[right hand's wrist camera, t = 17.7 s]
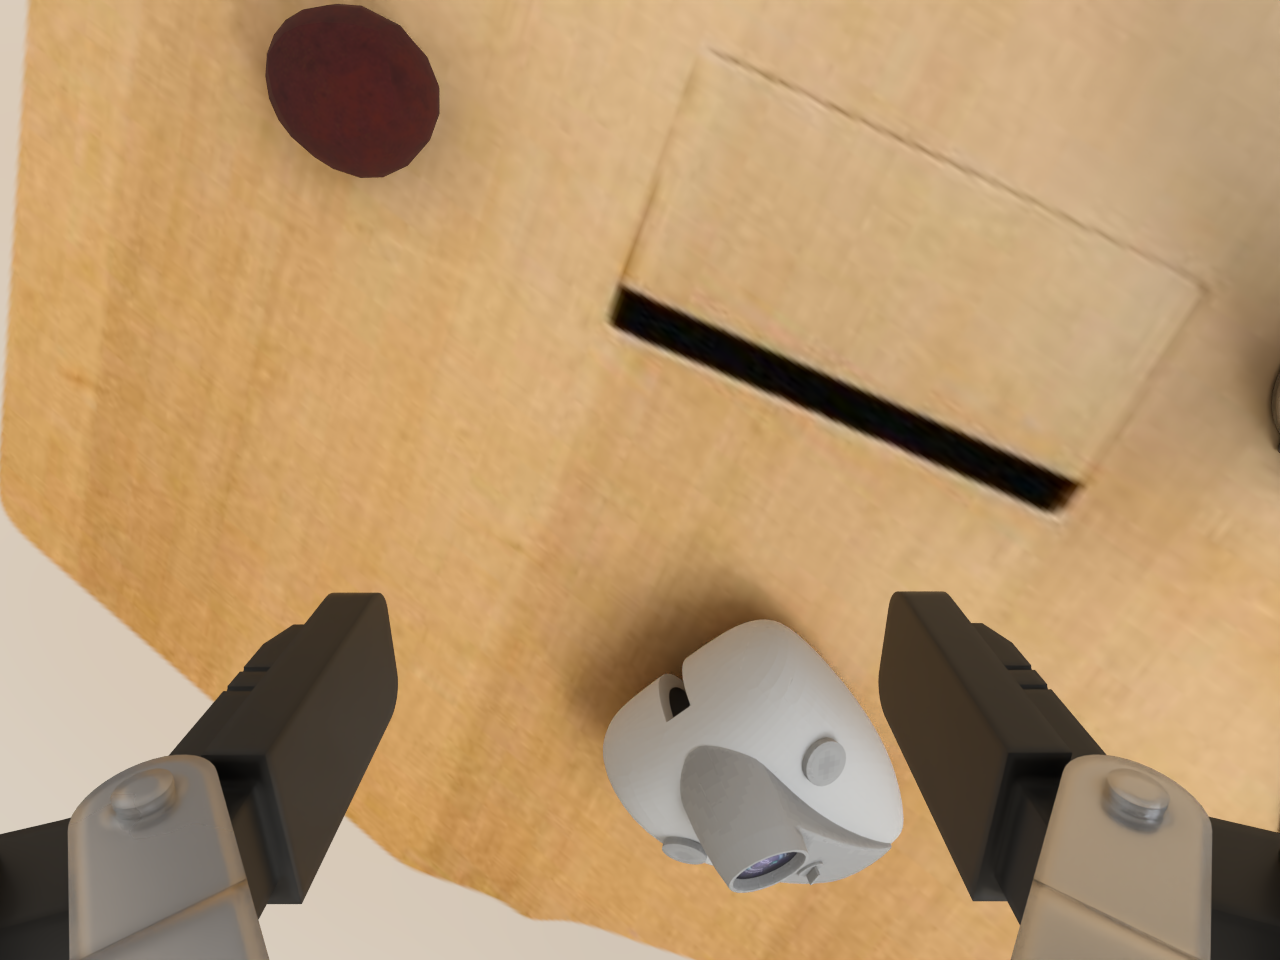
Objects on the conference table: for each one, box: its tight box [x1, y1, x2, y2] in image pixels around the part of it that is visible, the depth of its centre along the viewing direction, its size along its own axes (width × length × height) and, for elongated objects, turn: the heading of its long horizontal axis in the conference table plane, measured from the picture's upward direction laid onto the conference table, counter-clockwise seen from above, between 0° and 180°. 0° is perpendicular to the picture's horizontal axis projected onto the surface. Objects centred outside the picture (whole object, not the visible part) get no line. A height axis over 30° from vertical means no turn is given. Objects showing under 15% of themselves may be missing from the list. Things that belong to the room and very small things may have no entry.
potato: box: [265, 4, 439, 178], centre depth 34 cm, size 7×8×7 cm
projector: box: [603, 619, 903, 893], centre depth 46 cm, size 22×23×15 cm
